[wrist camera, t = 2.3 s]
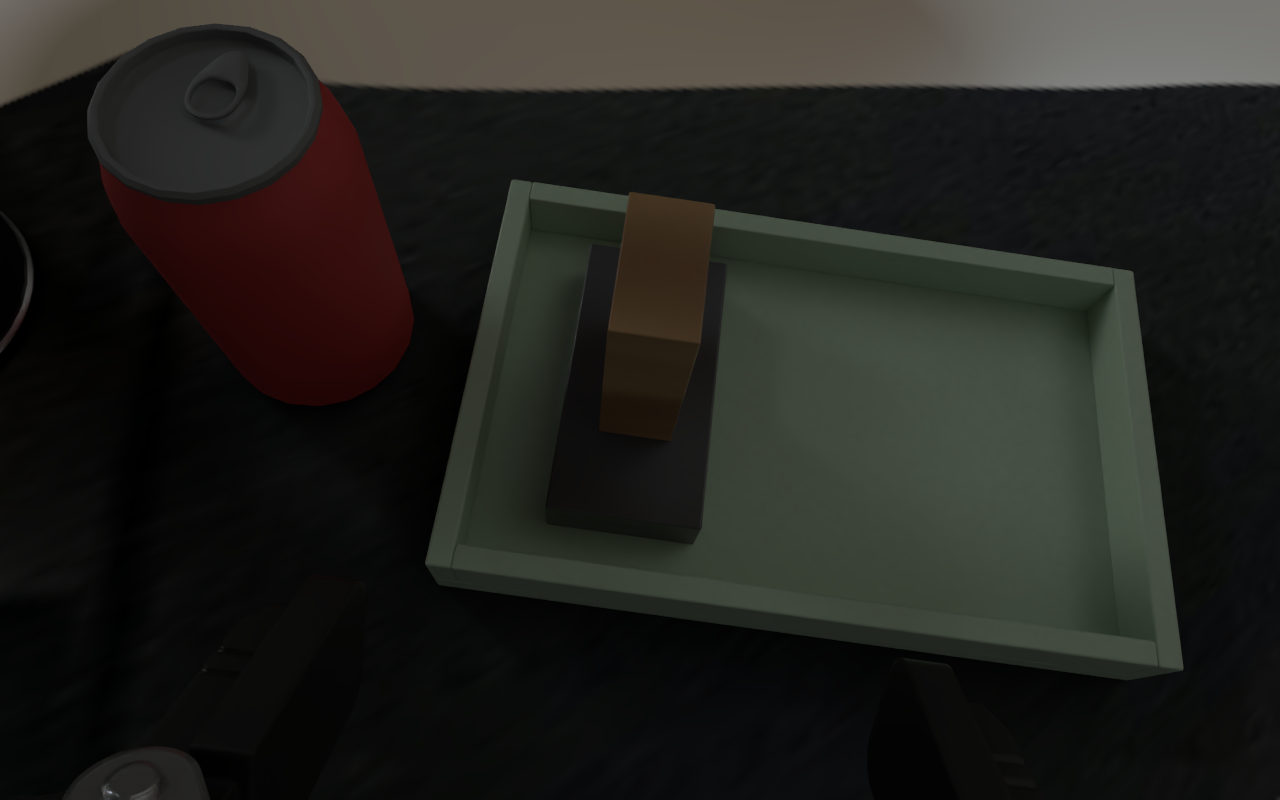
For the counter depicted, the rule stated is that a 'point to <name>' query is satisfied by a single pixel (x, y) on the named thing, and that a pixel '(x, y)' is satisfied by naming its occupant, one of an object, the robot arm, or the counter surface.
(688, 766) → the counter surface
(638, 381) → the eraser
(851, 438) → the tray
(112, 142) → the beer can
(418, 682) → the counter surface
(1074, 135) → the counter surface
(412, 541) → the counter surface
